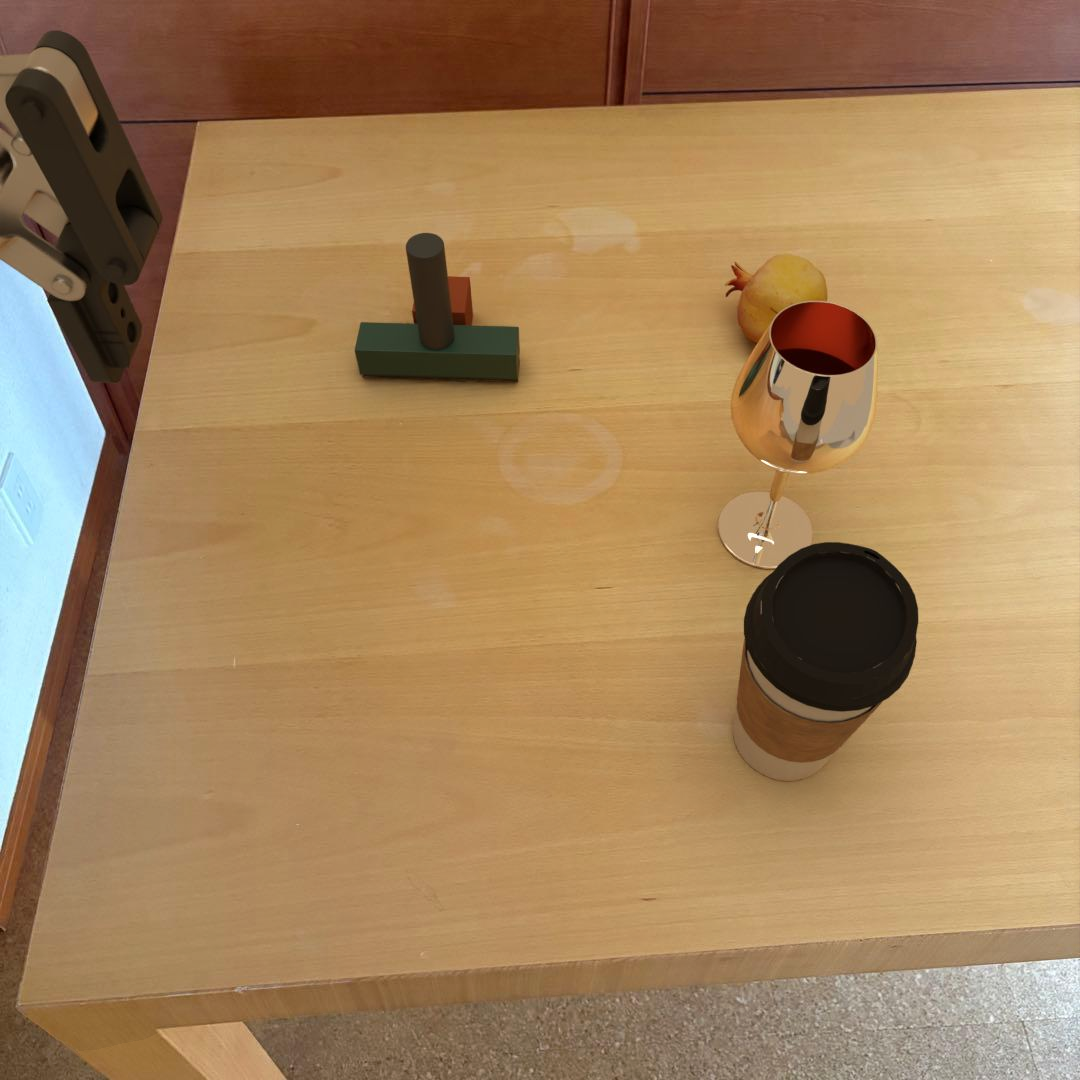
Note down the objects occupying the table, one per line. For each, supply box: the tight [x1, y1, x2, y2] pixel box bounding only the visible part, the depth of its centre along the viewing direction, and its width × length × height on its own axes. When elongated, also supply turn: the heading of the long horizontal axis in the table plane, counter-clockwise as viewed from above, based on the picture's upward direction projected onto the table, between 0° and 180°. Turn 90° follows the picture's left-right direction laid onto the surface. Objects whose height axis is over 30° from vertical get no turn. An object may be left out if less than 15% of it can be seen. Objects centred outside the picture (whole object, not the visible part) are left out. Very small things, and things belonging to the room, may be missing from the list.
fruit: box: [724, 253, 828, 344], centre depth 77 cm, size 7×7×10 cm
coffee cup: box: [732, 541, 919, 782], centre depth 54 cm, size 8×8×15 cm
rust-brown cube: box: [411, 276, 474, 325], centre depth 78 cm, size 4×4×4 cm
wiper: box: [354, 232, 521, 383], centre depth 73 cm, size 12×3×12 cm, turn 87°
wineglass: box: [717, 301, 879, 570], centre depth 62 cm, size 8×8×18 cm
